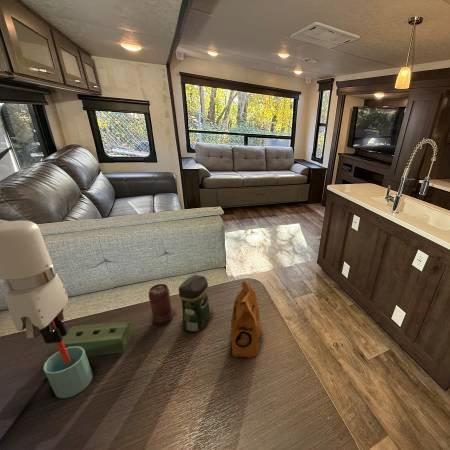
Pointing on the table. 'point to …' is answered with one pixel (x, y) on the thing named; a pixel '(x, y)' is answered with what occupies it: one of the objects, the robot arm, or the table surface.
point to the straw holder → (99, 338)
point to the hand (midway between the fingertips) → (56, 338)
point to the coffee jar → (195, 303)
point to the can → (160, 304)
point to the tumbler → (68, 372)
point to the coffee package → (245, 323)
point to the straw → (62, 350)
